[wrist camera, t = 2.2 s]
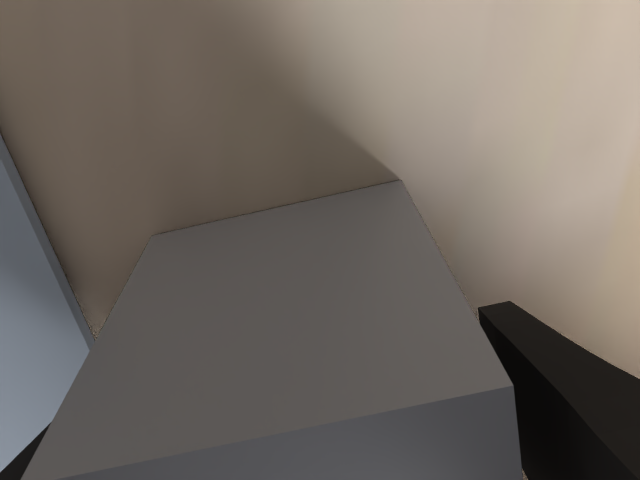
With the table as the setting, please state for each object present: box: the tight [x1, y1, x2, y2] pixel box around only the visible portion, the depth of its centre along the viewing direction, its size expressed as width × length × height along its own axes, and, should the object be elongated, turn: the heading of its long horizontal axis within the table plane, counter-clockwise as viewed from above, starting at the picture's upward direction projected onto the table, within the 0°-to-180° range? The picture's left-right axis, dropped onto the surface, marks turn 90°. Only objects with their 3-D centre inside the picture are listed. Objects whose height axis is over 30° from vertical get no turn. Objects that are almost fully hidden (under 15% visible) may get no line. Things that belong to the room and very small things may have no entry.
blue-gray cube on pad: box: [21, 180, 523, 480], centre depth 11 cm, size 6×6×7 cm
